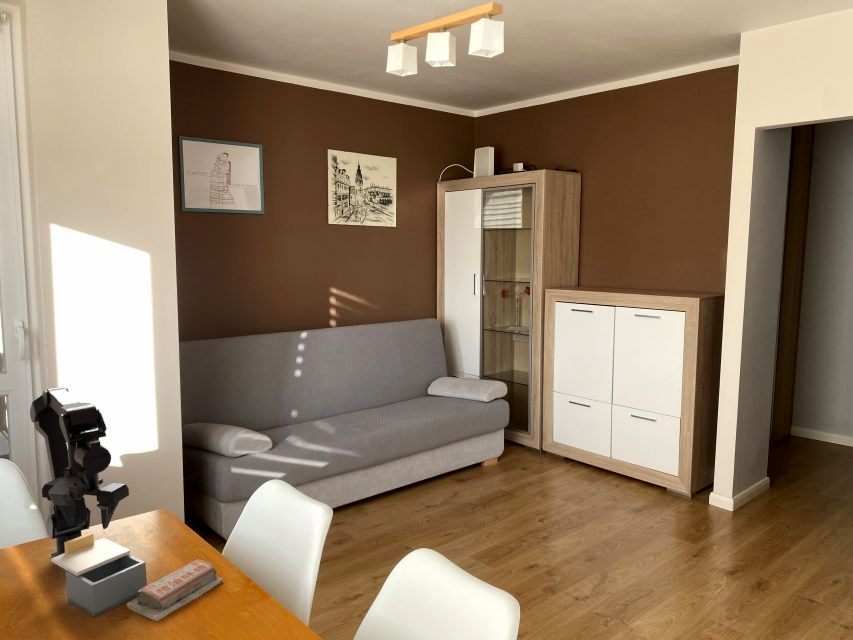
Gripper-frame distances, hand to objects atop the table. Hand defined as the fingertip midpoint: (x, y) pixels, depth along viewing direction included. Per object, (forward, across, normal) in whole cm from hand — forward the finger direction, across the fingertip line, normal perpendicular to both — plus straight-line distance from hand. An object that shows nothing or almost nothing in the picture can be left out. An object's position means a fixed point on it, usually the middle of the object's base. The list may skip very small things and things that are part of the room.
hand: (87, 526), depth 150 cm
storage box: (+13, +9, -5) cm, 16 cm away
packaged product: (+13, +23, -2) cm, 27 cm away
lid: (+6, +3, -3) cm, 7 cm away
